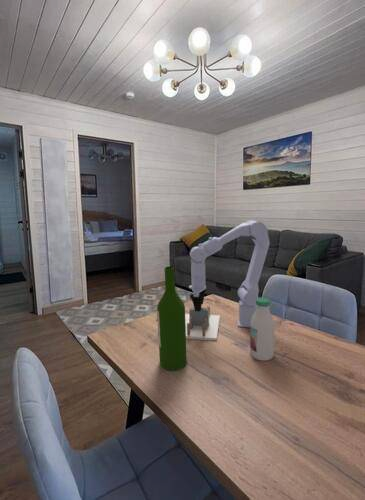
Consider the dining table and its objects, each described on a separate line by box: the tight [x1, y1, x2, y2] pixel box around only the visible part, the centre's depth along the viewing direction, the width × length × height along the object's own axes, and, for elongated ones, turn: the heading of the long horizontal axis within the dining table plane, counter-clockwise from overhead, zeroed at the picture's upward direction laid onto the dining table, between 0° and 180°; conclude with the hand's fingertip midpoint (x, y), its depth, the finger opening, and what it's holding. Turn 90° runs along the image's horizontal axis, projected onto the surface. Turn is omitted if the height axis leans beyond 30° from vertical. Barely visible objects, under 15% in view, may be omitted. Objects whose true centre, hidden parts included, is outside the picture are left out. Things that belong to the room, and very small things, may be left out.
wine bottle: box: [156, 266, 188, 372], centre depth 87 cm, size 9×9×32 cm
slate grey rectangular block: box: [188, 307, 209, 327], centre depth 114 cm, size 8×2×7 cm, turn 78°
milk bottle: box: [249, 297, 275, 362], centre depth 91 cm, size 8×8×20 cm
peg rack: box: [185, 306, 221, 342], centre depth 114 cm, size 16×21×6 cm
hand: (199, 307), depth 113 cm, fingers open, 7 cm apart
